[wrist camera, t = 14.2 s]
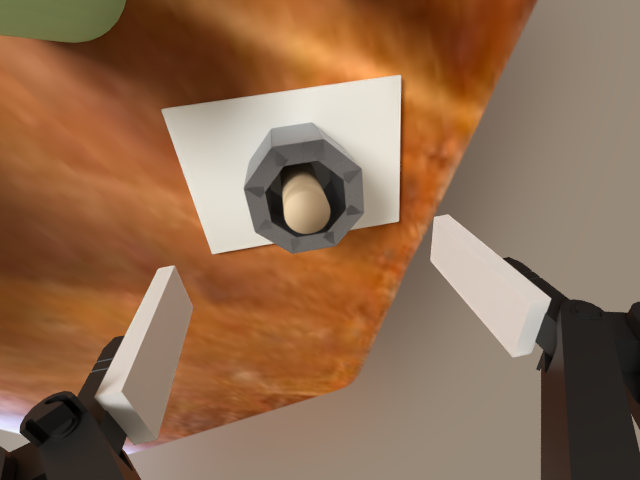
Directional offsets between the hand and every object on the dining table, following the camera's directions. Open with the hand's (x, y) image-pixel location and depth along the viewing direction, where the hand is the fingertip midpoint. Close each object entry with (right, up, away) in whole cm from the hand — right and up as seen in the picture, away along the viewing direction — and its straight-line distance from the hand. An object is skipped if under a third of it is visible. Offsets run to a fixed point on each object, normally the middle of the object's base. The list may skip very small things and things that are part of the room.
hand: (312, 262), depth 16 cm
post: (-2, +8, +14) cm, 16 cm away
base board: (-2, +8, +14) cm, 16 cm away
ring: (-2, +7, +13) cm, 15 cm away
